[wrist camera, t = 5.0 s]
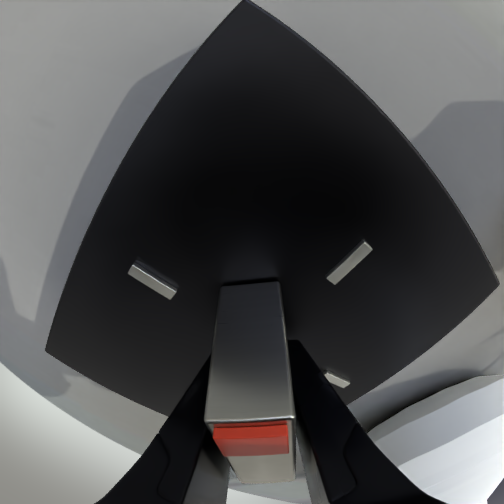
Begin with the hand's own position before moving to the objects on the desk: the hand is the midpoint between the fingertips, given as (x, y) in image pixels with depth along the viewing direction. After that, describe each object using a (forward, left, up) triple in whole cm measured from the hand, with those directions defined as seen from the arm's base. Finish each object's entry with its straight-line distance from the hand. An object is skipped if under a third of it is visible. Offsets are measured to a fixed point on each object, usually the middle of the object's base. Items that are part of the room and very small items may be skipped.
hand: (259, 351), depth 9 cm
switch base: (0, 0, -4) cm, 4 cm away
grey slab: (0, 0, 0) cm, 0 cm away
